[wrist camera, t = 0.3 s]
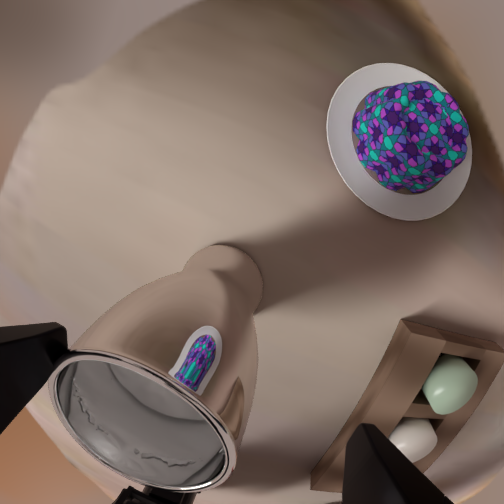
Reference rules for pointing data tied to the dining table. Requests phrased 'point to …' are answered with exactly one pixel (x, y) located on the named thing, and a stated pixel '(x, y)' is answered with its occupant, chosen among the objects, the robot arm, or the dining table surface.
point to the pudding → (400, 141)
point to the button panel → (411, 393)
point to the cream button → (414, 437)
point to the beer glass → (168, 375)
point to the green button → (449, 384)
